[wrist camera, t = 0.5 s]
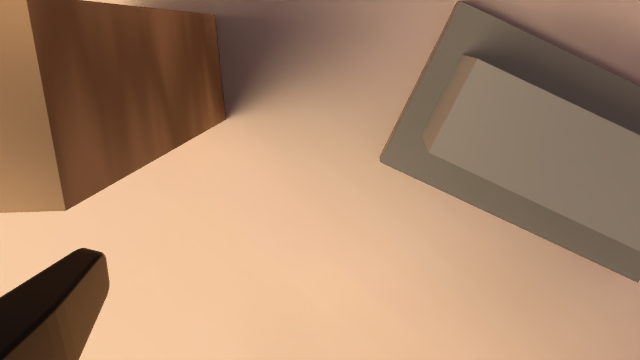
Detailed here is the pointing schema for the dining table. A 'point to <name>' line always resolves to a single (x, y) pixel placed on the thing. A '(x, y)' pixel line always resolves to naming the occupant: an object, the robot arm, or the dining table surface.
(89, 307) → the robot arm
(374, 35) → the dining table surface
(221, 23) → the dining table surface
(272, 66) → the dining table surface
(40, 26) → the walnut post
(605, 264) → the grey box
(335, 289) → the dining table surface
